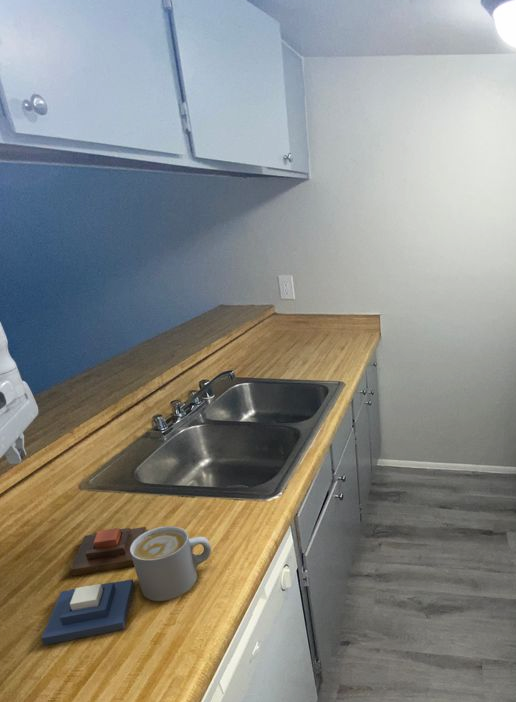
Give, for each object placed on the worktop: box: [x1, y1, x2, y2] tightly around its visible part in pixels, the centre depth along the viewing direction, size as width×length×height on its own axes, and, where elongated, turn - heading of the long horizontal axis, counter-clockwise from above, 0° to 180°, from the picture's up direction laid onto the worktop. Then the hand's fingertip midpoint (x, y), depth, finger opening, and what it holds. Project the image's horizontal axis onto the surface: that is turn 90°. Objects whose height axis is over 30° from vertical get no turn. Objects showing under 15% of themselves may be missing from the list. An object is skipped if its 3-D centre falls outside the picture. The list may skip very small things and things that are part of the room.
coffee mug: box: [130, 525, 212, 602], centre depth 92 cm, size 13×10×10 cm
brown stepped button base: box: [70, 526, 148, 577], centre depth 99 cm, size 12×11×4 cm
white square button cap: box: [70, 583, 103, 611], centre depth 84 cm, size 4×4×2 cm
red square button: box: [94, 527, 121, 549], centre depth 98 cm, size 4×4×2 cm
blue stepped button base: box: [40, 578, 135, 646], centre depth 85 cm, size 12×11×4 cm
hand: (18, 460), depth 84 cm, fingers closed
